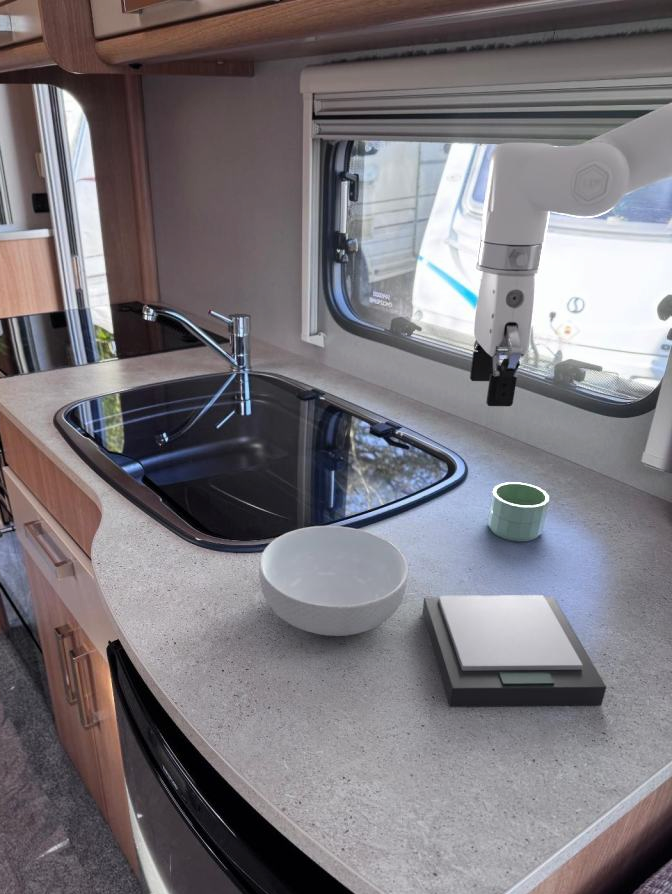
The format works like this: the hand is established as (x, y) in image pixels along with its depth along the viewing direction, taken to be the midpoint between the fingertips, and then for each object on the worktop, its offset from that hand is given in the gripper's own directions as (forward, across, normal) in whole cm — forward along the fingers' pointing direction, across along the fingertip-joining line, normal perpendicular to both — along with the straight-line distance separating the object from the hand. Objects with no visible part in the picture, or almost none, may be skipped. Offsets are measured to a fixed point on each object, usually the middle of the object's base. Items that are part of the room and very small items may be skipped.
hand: (489, 392), depth 96 cm
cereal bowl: (+19, -24, +21) cm, 37 cm away
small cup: (+19, -4, -5) cm, 20 cm away
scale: (+19, -31, +3) cm, 36 cm away
